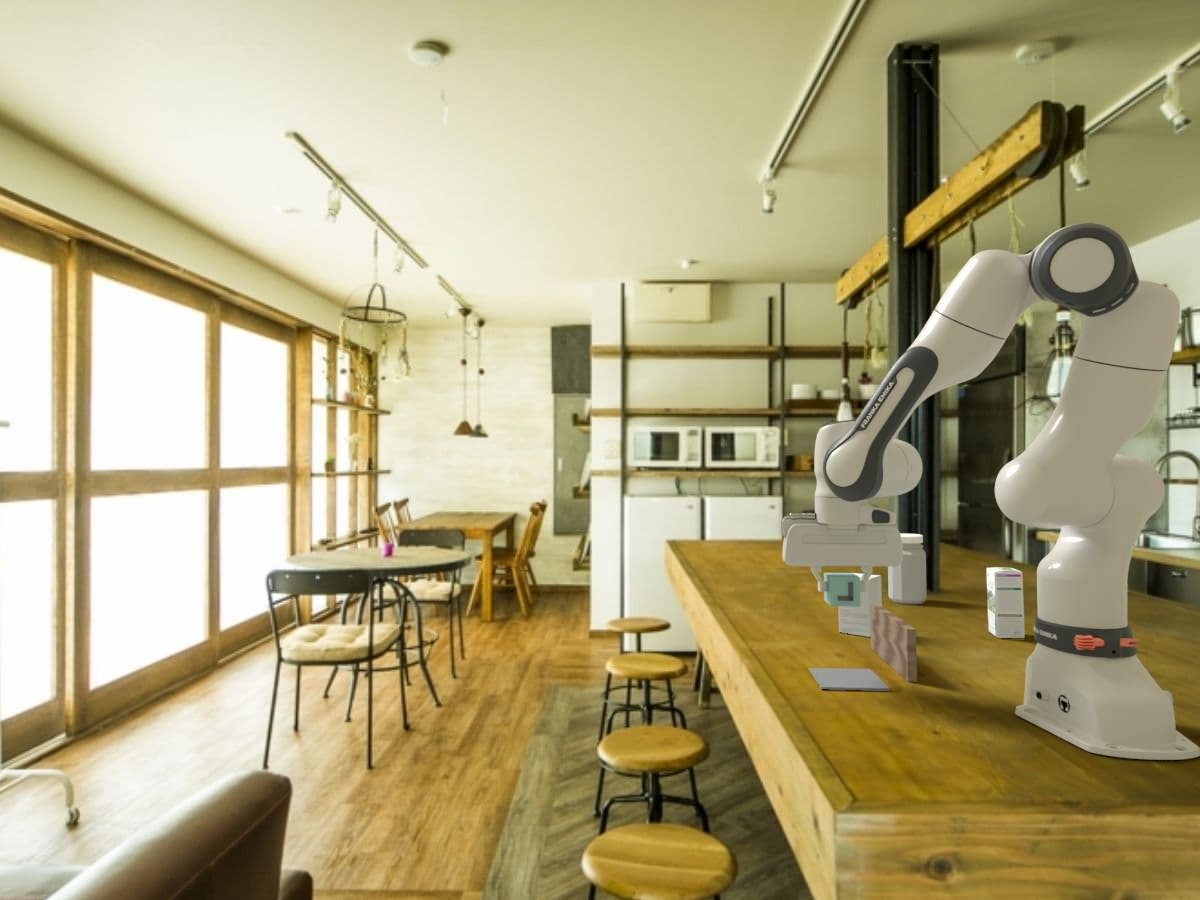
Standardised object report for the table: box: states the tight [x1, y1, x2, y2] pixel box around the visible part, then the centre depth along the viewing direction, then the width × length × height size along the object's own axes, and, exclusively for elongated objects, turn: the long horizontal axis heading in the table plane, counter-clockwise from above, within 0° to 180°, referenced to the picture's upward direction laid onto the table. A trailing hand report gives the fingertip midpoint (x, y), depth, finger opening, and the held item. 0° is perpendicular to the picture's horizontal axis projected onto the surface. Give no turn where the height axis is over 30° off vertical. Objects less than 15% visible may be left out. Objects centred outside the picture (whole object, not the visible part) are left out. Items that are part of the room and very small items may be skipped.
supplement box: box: [837, 572, 883, 638], centre depth 158 cm, size 7×7×13 cm
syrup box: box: [986, 566, 1026, 639], centre depth 154 cm, size 6×6×14 cm
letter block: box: [823, 572, 860, 607], centre depth 125 cm, size 5×5×5 cm
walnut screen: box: [870, 604, 918, 683], centre depth 133 cm, size 22×2×9 cm, turn 175°
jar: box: [887, 532, 928, 605], centre depth 192 cm, size 10×10×18 cm
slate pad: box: [807, 667, 891, 692], centre depth 123 cm, size 11×11×1 cm
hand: (841, 591), depth 125 cm, fingers closed on letter block, 5 cm apart
